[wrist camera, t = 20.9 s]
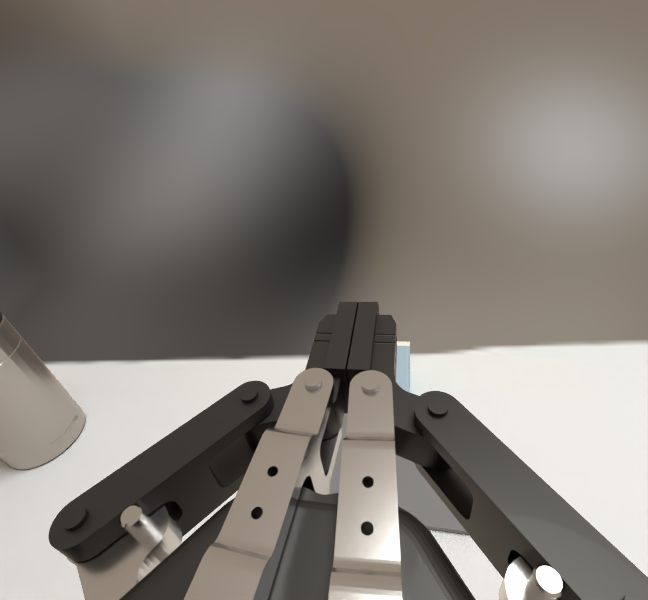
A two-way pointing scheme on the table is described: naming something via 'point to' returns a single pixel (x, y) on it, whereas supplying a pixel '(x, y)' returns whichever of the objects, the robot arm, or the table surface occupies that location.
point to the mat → (410, 493)
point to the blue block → (403, 365)
